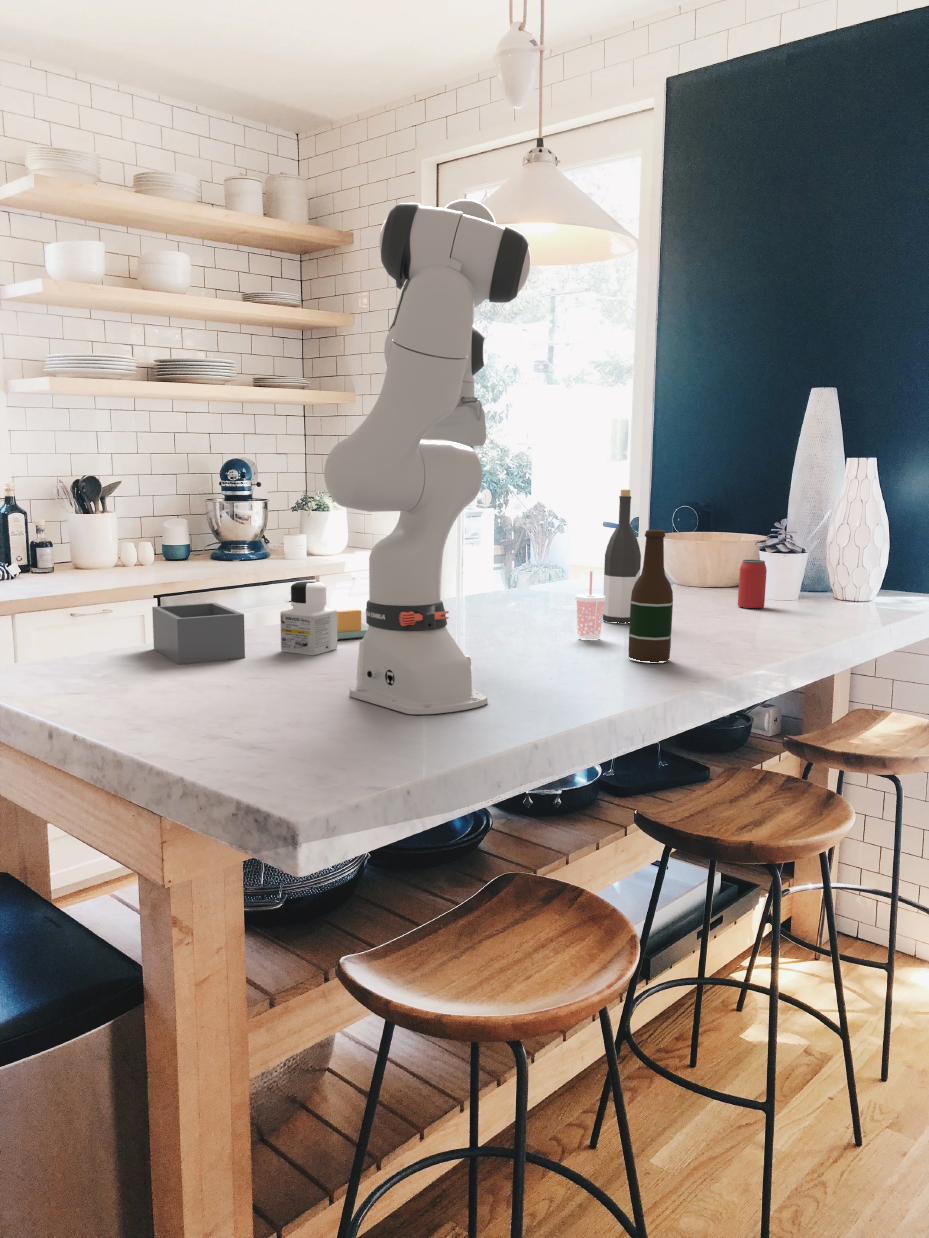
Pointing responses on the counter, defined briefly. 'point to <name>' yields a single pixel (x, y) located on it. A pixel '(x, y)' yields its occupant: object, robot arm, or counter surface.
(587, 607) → the beverage cup
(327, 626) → the container
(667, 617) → the beer bottle
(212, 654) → the tub
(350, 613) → the lid
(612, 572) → the wine bottle
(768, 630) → the counter surface
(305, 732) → the counter surface
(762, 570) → the beer can
